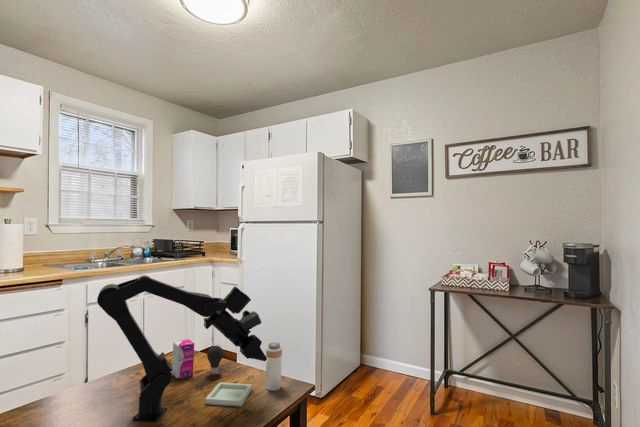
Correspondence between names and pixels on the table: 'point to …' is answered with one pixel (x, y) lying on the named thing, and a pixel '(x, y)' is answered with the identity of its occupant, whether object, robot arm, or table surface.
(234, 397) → the tray
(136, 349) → the robot arm
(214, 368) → the light bulb
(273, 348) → the bottle
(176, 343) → the supplement box
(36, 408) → the table surface
